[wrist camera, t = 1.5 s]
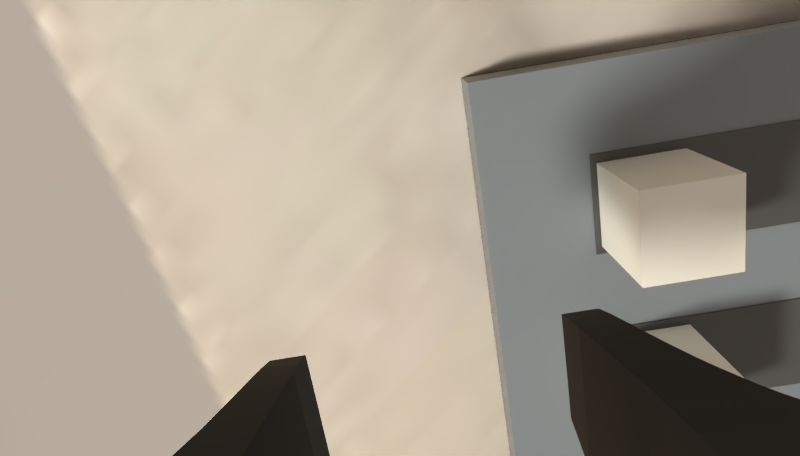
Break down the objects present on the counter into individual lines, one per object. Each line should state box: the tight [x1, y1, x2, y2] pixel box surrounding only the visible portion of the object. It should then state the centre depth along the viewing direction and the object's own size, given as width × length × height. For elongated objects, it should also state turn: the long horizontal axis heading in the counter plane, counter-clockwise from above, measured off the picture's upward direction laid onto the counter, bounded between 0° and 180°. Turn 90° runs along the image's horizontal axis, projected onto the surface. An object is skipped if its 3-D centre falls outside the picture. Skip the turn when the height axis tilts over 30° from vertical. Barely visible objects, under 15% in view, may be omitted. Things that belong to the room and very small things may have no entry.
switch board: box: [461, 20, 800, 456], centre depth 20 cm, size 19×16×2 cm
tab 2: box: [645, 324, 744, 378], centre depth 18 cm, size 2×2×3 cm
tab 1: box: [597, 148, 746, 288], centre depth 16 cm, size 2×2×3 cm
